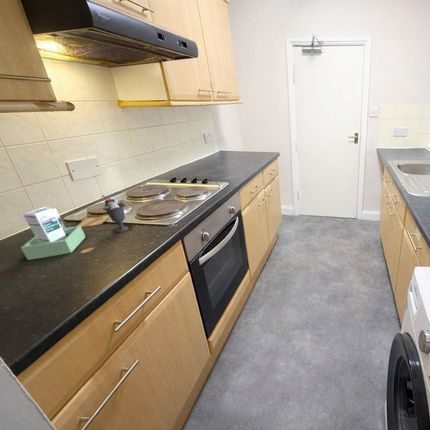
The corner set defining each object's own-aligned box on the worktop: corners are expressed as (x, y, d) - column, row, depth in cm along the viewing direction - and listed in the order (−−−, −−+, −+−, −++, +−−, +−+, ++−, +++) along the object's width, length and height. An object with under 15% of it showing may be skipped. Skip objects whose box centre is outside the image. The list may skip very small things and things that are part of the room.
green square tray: (28, 261, 85) (20, 247, 83) (47, 243, 94) (40, 231, 92) (71, 253, 88) (65, 240, 86) (86, 237, 98) (80, 225, 96)
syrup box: (56, 254, 88) (35, 214, 82) (43, 252, 89) (21, 213, 83) (74, 245, 93) (56, 207, 87) (61, 243, 94) (42, 206, 88)
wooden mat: (75, 228, 105) (74, 227, 105) (84, 219, 112) (84, 218, 112) (102, 224, 108) (101, 224, 107) (109, 216, 115) (109, 215, 115)
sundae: (108, 233, 101) (93, 196, 95) (125, 225, 107) (111, 190, 100) (120, 235, 99) (105, 198, 93) (137, 227, 105) (124, 192, 98)
